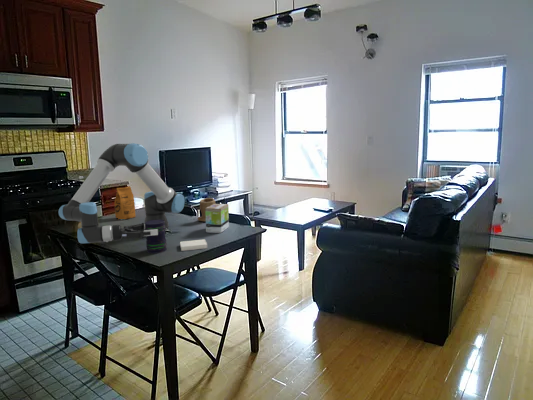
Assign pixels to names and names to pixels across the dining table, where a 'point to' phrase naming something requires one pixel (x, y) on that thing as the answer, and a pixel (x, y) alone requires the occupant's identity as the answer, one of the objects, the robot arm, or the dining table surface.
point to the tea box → (217, 218)
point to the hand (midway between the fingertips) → (157, 228)
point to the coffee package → (124, 203)
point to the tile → (193, 245)
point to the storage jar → (156, 236)
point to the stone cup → (203, 205)
